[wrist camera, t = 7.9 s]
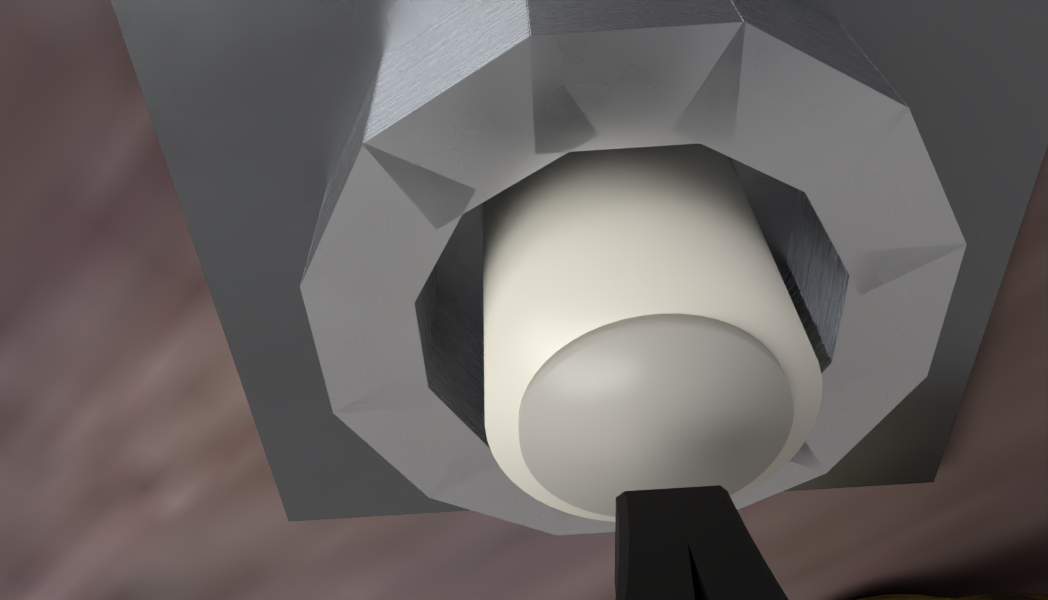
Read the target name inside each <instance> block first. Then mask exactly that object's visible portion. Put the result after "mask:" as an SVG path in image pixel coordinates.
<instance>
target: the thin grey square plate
mask: <svg viewBox="0 0 1048 600" xmlns="http://www.w3.org/2000/svg"><path fill="white" fill-rule="evenodd" d="M111 3H112V6H113V9H114V12H115V14H116V17H117V20H118V23H119V26H120V29H121V32H122V35H123V38H124V41H125V44H126V47H127V50H128V52H129V55H130V58H131V61H132V64H133V67H134V70H135V73H136V76H137V79H138V82H139V85H140V88H141V90H142V93H143V96H144V99H145V102H146V105H147V108H148V111H149V114H150V117H151V120H152V123H153V126H154V128H155V131H156V134H157V137H158V140H159V143H160V146H161V149H162V152H163V155H164V158H165V161H166V164H167V166H168V169H169V172H170V175H171V178H172V181H173V184H174V187H175V190H176V193H177V196H178V199H179V202H180V204H181V207H182V210H183V213H184V216H185V219H186V222H187V225H188V228H189V231H190V234H191V237H192V240H193V242H194V245H195V248H196V251H197V254H198V257H199V260H200V263H201V266H202V269H203V272H204V275H205V278H206V280H207V283H208V286H209V289H210V292H211V295H212V298H213V301H214V304H215V307H216V310H217V313H218V316H219V318H220V321H221V324H222V327H223V330H224V333H225V336H226V339H227V342H228V345H229V348H230V351H231V354H232V356H233V359H234V362H235V365H236V368H237V371H238V374H239V377H240V380H241V383H242V386H243V389H244V392H245V394H246V397H247V400H248V403H249V406H250V409H251V412H252V415H253V418H254V421H255V424H256V427H257V430H258V432H259V435H260V438H261V441H262V444H263V447H264V450H265V453H266V456H267V459H268V462H269V465H270V468H271V470H272V473H273V476H274V479H275V482H276V485H277V488H278V491H279V494H280V497H281V500H282V503H283V506H284V508H285V511H286V514H287V517H288V520H289V521H303V520H320V519H336V518H353V517H369V516H385V515H402V514H418V513H434V512H451V511H467V510H472V511H476V512H479V513H483V514H486V515H489V516H493V517H496V518H500V519H503V520H506V521H510V522H513V523H517V524H520V525H523V526H527V527H530V528H534V529H537V530H540V531H544V532H547V533H551V534H554V535H557V536H558V535H571V534H588V533H604V532H615V522H611V521H602V520H595V519H589V518H584V517H580V516H577V515H573V514H569V513H566V512H563V511H561V510H558V509H555V508H553V507H550V506H548V505H546V504H544V503H542V502H540V501H538V500H536V499H535V498H533V497H532V496H530V495H529V494H527V493H526V492H524V491H523V490H522V489H521V488H519V487H518V486H517V485H516V484H515V483H514V482H513V481H511V480H510V478H509V477H508V476H507V475H506V474H505V473H504V471H503V470H502V469H501V468H500V466H499V465H498V463H497V461H496V460H495V458H494V456H493V454H492V452H491V449H490V446H489V444H488V441H487V436H486V431H485V409H484V308H483V216H484V210H485V205H486V202H487V200H488V199H490V198H491V197H493V196H495V195H496V194H498V193H500V192H502V191H503V190H505V189H507V188H508V187H510V186H512V185H514V184H515V183H517V182H519V181H520V180H522V179H524V178H525V177H527V176H529V175H531V174H532V173H534V172H536V171H537V170H539V169H541V168H543V167H544V166H546V165H548V164H549V163H551V162H553V161H554V160H556V159H558V158H560V157H561V156H563V155H565V154H566V153H568V152H575V151H590V150H606V149H621V148H636V147H652V146H667V145H683V144H698V143H701V144H703V145H705V146H707V147H709V148H711V149H713V150H716V151H718V152H720V153H722V154H724V155H726V156H727V157H728V159H729V161H730V162H731V164H732V165H733V167H734V169H735V172H736V174H737V176H738V178H739V181H740V183H741V185H742V188H743V190H744V192H745V194H746V197H747V199H748V201H749V204H750V206H751V208H752V210H753V213H754V215H755V217H756V220H757V222H758V224H759V226H760V229H761V231H762V233H763V236H764V238H765V240H766V243H767V245H768V247H769V249H770V252H771V254H772V256H773V259H774V261H775V263H776V265H777V268H778V270H779V272H780V275H781V277H782V279H783V281H784V284H785V286H786V288H787V291H788V293H789V295H790V298H791V300H792V302H793V304H794V307H795V309H796V311H797V314H798V316H799V318H800V320H801V323H802V325H803V327H804V330H805V332H806V334H807V336H808V339H809V341H810V343H811V346H812V348H813V350H814V352H815V355H816V357H817V359H818V362H819V366H820V370H821V375H822V391H823V393H822V399H821V406H820V410H819V413H818V416H817V419H816V422H815V424H814V426H813V428H812V430H811V432H810V434H809V436H808V438H807V439H806V441H805V442H804V444H803V445H802V446H801V448H800V449H799V451H798V452H797V453H796V454H795V455H794V456H793V457H792V458H791V460H790V461H789V462H788V463H787V464H786V465H785V466H784V467H783V468H781V469H780V470H779V471H778V472H777V473H776V474H774V475H773V476H772V477H771V478H769V479H768V480H767V481H765V482H764V483H762V484H761V485H759V486H758V487H756V488H755V489H753V490H751V491H749V492H748V493H746V494H744V495H742V496H741V497H739V498H736V499H734V500H732V501H733V503H734V505H735V507H736V509H737V510H738V509H741V508H743V507H745V506H748V505H750V504H753V503H755V502H758V501H760V500H763V499H765V498H767V497H770V496H772V495H775V494H777V493H780V492H782V491H795V490H811V489H828V488H844V487H860V486H877V485H893V484H909V483H926V482H934V479H935V476H936V473H937V470H938V467H939V464H940V462H941V459H942V456H943V453H944V450H945V447H946V444H947V441H948V438H949V435H950V432H951V429H952V426H953V423H954V420H955V417H956V414H957V411H958V408H959V406H960V403H961V400H962V397H963V394H964V391H965V388H966V385H967V382H968V379H969V376H970V373H971V370H972V367H973V364H974V361H975V358H976V355H977V352H978V350H979V347H980V344H981V341H982V338H983V335H984V332H985V329H986V326H987V323H988V320H989V317H990V314H991V311H992V308H993V305H994V302H995V299H996V297H997V294H998V291H999V288H1000V285H1001V282H1002V279H1003V276H1004V273H1005V270H1006V267H1007V264H1008V261H1009V258H1010V255H1011V252H1012V249H1013V246H1014V243H1015V241H1016V238H1017V235H1018V232H1019V229H1020V226H1021V223H1022V220H1023V217H1024V214H1025V211H1026V208H1027V205H1028V202H1029V199H1030V196H1031V193H1032V190H1033V187H1034V185H1035V182H1036V179H1037V176H1038V173H1039V170H1040V167H1041V164H1042V161H1043V158H1044V155H1045V152H1046V149H1047V146H1048V0H111Z"/></svg>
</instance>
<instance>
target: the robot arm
mask: <svg viewBox="0 0 1048 600" xmlns="http://www.w3.org/2000/svg"><path fill="white" fill-rule="evenodd" d="M615 589H616V600H788V598H787V596H786V595H785V593H784V592H783V590H782V588H781V587H780V585H779V584H778V582H777V580H776V579H775V577H774V575H773V574H772V572H771V570H770V569H769V567H768V565H767V564H766V562H765V560H764V559H763V557H762V555H761V553H760V552H759V550H758V548H757V546H756V545H755V543H754V541H753V539H752V538H751V536H750V534H749V532H748V530H747V528H746V527H745V525H744V523H743V521H742V519H741V517H740V515H739V513H738V511H737V509H736V507H735V505H734V503H733V501H732V499H731V497H730V495H729V493H728V491H727V490H726V489H724V488H723V487H722V486H720V485H716V486H700V487H684V488H668V489H652V490H635V491H624V492H623V493H621V494H620V495H619V496H617V497H616V517H615Z"/></svg>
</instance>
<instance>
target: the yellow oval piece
mask: <svg viewBox="0 0 1048 600" xmlns="http://www.w3.org/2000/svg"><path fill="white" fill-rule="evenodd" d="M857 600H1048V594H1027V595H1024V594H1011V593H1002V594H991V595H968V596H965V597H961V598H957V599H954V598H942V597H932V596H926V595H914V594H887V595H879V596H873V597H867V598H862V599H857Z"/></svg>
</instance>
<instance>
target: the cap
mask: <svg viewBox="0 0 1048 600" xmlns="http://www.w3.org/2000/svg"><path fill="white" fill-rule="evenodd" d="M483 308H484V409H485V431H486V436H487V441H488V444H489V446H490V449H491V452H492V454H493V456H494V458H495V460H496V461H497V463H498V465H499V466H500V468H501V469H502V470H503V471H504V473H505V474H506V475H507V476H508V477H509V478H510V480H511V481H513V482H514V483H515V484H516V485H517V486H518V487H519V488H521V489H522V490H523V491H524V492H526V493H527V494H529V495H530V496H532V497H533V498H535V499H536V500H538V501H540V502H542V503H544V504H546V505H548V506H550V507H553V508H555V509H558V510H561V511H563V512H566V513H569V514H573V515H577V516H580V517H584V518H589V519H595V520H602V521H611V522H615V517H616V497H617V496H619V495H620V494H621V493H623V492H624V491H635V490H652V489H668V488H684V487H700V486H716V485H720V486H722V487H723V488H724V489H726V490H727V491H728V493H729V495H730V497H731V499H732V500H734V499H736V498H739V497H741V496H742V495H744V494H746V493H748V492H749V491H751V490H753V489H755V488H756V487H758V486H759V485H761V484H762V483H764V482H765V481H767V480H768V479H769V478H771V477H772V476H773V475H774V474H776V473H777V472H778V471H779V470H780V469H781V468H783V467H784V466H785V465H786V464H787V463H788V462H789V461H790V460H791V458H792V457H793V456H794V455H795V454H796V453H797V452H798V451H799V449H800V448H801V446H802V445H803V444H804V442H805V441H806V439H807V438H808V436H809V434H810V432H811V430H812V428H813V426H814V424H815V422H816V419H817V416H818V413H819V410H820V406H821V399H822V393H823V391H822V375H821V370H820V366H819V362H818V359H817V357H816V355H815V352H814V350H813V348H812V346H811V343H810V341H809V339H808V336H807V334H806V332H805V330H804V327H803V325H802V323H801V320H800V318H799V316H798V314H797V311H796V309H795V307H794V304H793V302H792V300H791V298H790V295H789V293H788V291H787V288H786V286H785V284H784V281H783V279H782V277H781V275H780V272H779V270H778V268H777V265H776V263H775V261H774V259H773V256H772V254H771V252H770V249H769V247H768V245H767V243H766V240H765V238H764V236H763V233H762V231H761V229H760V226H759V224H758V222H757V220H756V217H755V215H754V213H753V210H752V208H751V206H750V204H749V201H748V199H747V197H746V194H745V192H744V190H743V188H742V185H741V183H740V181H739V178H738V176H737V174H736V172H735V169H734V167H733V165H732V164H731V162H730V161H729V159H728V157H727V156H726V155H724V154H722V153H720V152H718V151H716V150H713V149H711V148H709V147H707V146H705V145H703V144H701V143H698V144H683V145H667V146H652V147H636V148H621V149H606V150H590V151H575V152H568V153H566V154H565V155H563V156H561V157H560V158H558V159H556V160H554V161H553V162H551V163H549V164H548V165H546V166H544V167H543V168H541V169H539V170H537V171H536V172H534V173H532V174H531V175H529V176H527V177H525V178H524V179H522V180H520V181H519V182H517V183H515V184H514V185H512V186H510V187H508V188H507V189H505V190H503V191H502V192H500V193H498V194H496V195H495V196H493V197H491V198H490V199H488V200H487V202H486V205H485V210H484V216H483Z"/></svg>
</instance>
